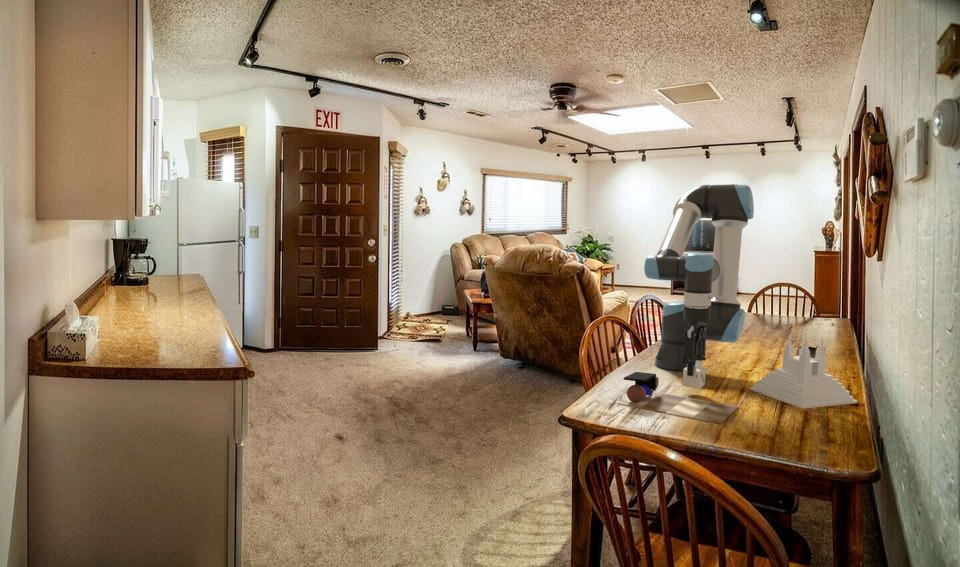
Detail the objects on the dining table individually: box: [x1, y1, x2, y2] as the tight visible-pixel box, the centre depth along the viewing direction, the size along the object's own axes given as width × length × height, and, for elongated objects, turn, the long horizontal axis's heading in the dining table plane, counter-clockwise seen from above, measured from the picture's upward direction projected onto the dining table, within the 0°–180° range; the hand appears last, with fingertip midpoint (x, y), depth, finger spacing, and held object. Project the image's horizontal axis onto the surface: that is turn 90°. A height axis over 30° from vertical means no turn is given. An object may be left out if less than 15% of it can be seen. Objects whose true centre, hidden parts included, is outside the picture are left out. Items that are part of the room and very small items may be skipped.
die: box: [682, 366, 707, 389], centre depth 184 cm, size 5×5×5 cm
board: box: [616, 391, 739, 425], centre depth 172 cm, size 18×28×1 cm, turn 54°
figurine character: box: [623, 371, 660, 403], centre depth 178 cm, size 7×8×15 cm
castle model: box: [749, 333, 858, 409], centre depth 184 cm, size 20×20×18 cm
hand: (693, 383), depth 184 cm, fingers closed on die, 5 cm apart
